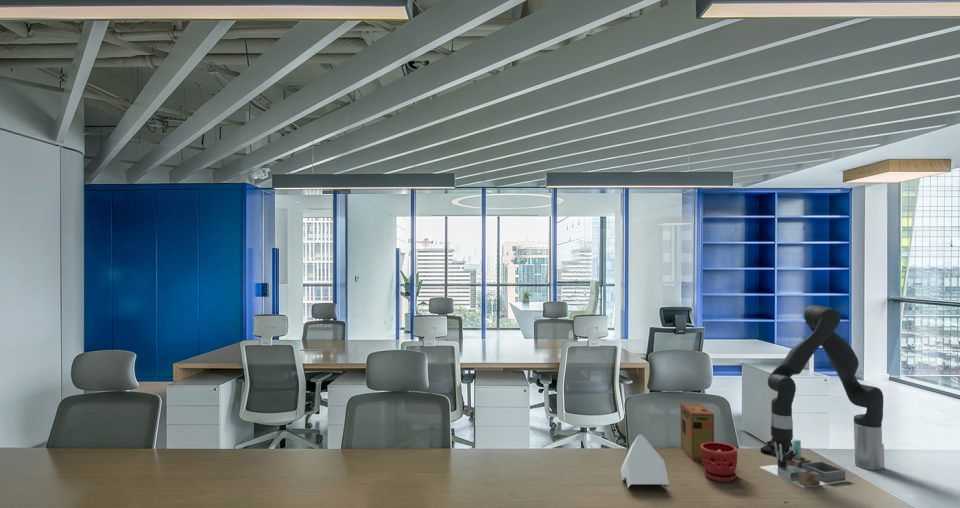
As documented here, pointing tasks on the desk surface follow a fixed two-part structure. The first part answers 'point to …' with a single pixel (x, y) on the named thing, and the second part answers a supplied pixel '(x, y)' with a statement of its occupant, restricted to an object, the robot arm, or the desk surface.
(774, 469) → the board
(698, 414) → the box
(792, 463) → the socket
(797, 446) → the dowel
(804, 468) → the tray
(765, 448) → the black sponge
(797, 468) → the grey rectangular brick
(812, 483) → the brown wooden block
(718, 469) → the plant pot
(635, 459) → the slotted wedge
